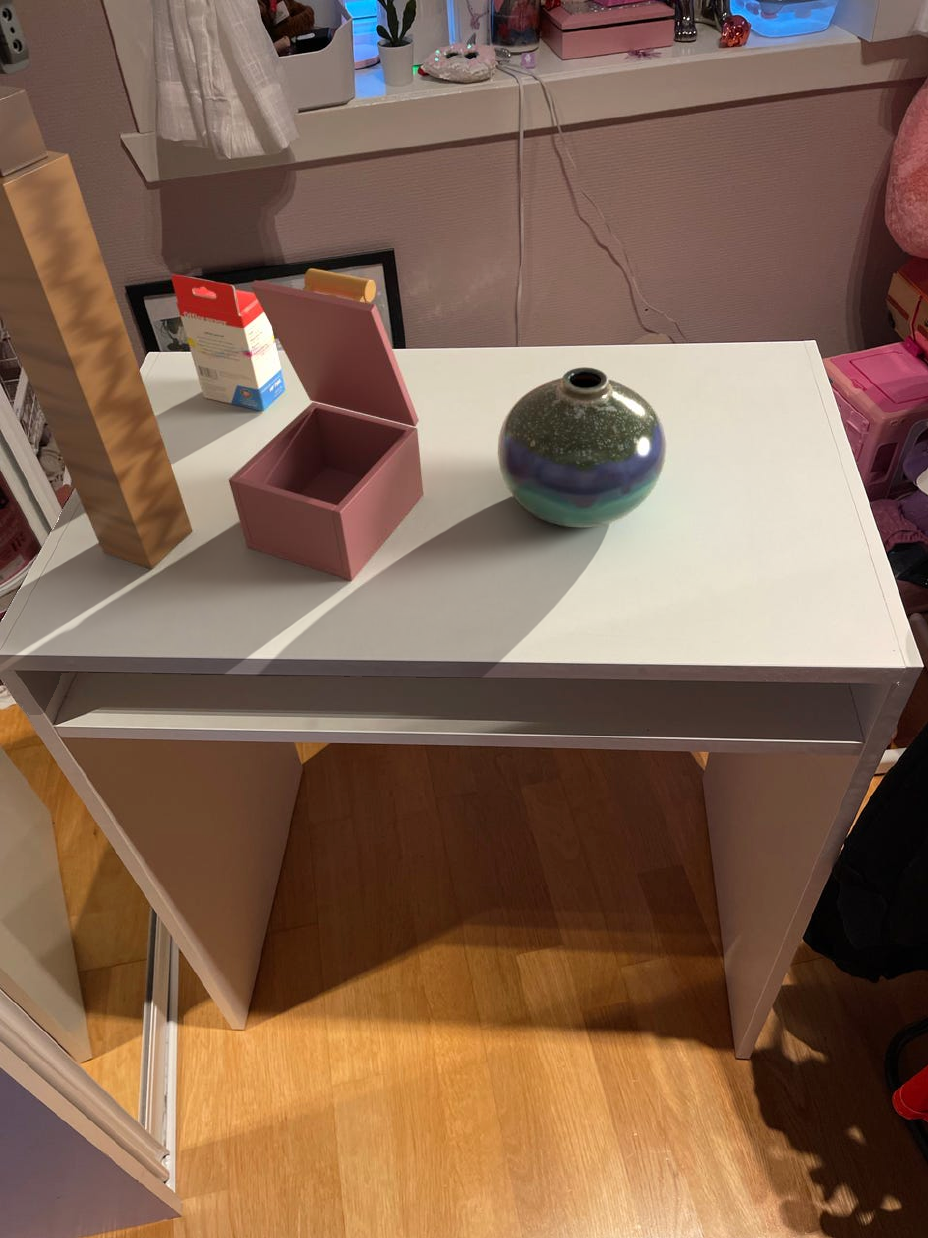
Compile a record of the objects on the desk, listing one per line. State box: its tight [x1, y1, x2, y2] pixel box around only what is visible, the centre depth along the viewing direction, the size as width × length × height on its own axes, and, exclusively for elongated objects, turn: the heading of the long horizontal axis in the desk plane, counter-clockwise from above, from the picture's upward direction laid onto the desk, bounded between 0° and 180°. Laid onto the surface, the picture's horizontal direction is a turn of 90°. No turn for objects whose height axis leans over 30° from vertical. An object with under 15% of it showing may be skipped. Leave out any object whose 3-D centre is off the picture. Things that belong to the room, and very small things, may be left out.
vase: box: [497, 366, 667, 528], centre depth 83 cm, size 15×15×13 cm
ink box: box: [171, 273, 286, 412], centre depth 99 cm, size 8×5×15 cm, turn 65°
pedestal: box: [0, 150, 194, 570], centre depth 74 cm, size 6×6×34 cm
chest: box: [228, 401, 424, 582], centre depth 84 cm, size 14×12×8 cm
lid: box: [250, 268, 419, 428], centre depth 80 cm, size 14×12×5 cm
